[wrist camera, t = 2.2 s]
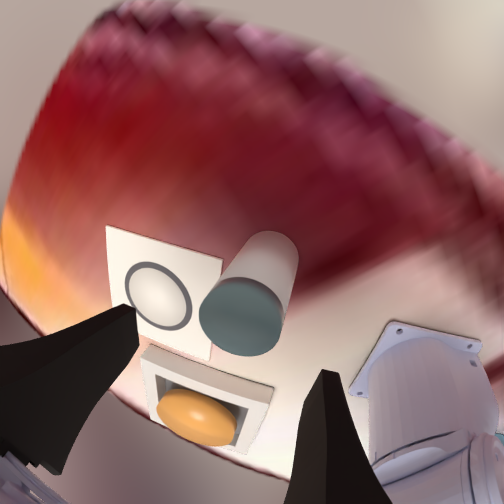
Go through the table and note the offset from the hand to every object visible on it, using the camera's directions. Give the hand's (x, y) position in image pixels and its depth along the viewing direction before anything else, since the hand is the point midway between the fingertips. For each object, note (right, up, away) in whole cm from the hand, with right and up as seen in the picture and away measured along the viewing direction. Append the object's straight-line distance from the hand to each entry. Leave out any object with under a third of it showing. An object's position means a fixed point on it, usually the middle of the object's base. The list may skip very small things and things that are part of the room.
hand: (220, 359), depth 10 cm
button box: (-4, -12, +16) cm, 20 cm away
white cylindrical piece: (+2, +4, +8) cm, 9 cm away
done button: (-4, -12, +15) cm, 20 cm away
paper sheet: (-6, 0, +12) cm, 14 cm away
